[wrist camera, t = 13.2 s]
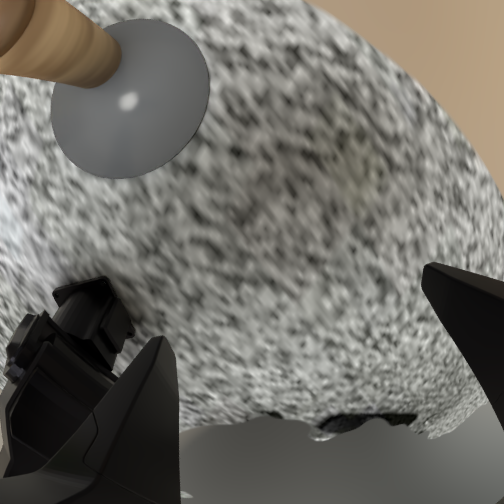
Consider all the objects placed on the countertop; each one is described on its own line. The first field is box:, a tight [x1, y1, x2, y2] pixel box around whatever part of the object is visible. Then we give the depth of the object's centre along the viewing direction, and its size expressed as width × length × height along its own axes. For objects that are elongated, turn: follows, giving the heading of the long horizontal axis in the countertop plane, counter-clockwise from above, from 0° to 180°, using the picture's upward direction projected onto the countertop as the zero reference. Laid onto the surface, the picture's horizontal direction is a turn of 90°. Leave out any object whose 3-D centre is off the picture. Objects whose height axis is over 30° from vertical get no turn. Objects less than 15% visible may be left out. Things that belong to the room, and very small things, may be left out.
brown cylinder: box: [0, 0, 122, 89], centre depth 8 cm, size 4×4×12 cm
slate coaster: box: [51, 19, 209, 179], centre depth 15 cm, size 12×12×1 cm
